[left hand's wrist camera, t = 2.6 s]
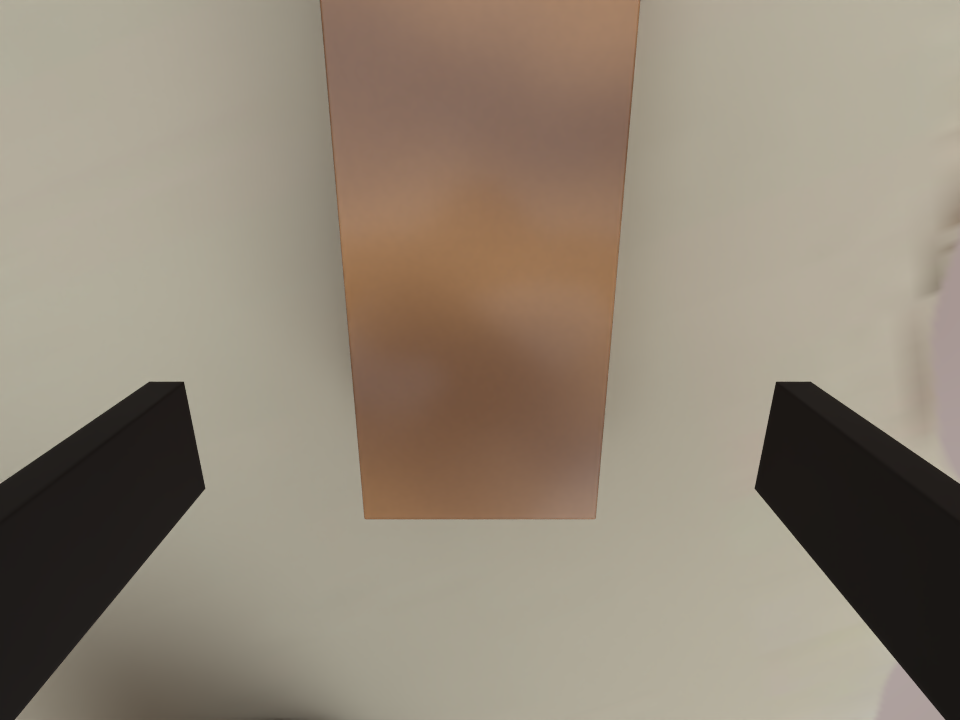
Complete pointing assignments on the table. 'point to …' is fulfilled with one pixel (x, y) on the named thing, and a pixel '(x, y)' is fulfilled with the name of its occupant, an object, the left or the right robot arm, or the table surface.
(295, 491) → the table surface
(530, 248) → the slab
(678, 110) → the table surface
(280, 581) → the table surface
